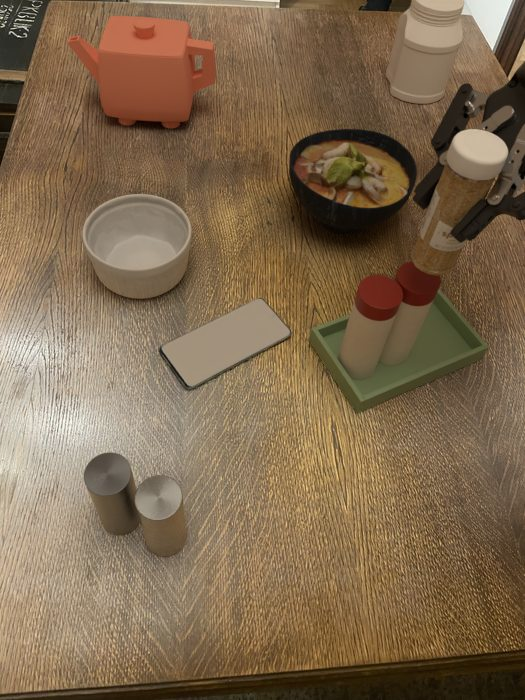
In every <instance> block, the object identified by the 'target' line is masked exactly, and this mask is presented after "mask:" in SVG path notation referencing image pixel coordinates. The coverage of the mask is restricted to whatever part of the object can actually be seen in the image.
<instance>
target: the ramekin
mask: <svg viewBox="0 0 525 700" xmlns="http://www.w3.org/2000/svg"><path fill="white" fill-rule="evenodd" d="M81 240H82V245H83V249H84V251H85V253H86V255H87V257H88V258H89V259H90V261H91V264H92V266H93V269H94V272H95V274H96V276H97V277H98V279H99V281H100V283H102V285H103V286H104V287H105V288H107V289H108V290H110V291H111V292H113V293H115V294H117V295H120V296H122V297H125V298H131V299H137V300H142V299H151V298H155V297H158V296H162V295H163V294H166V293H167V292H169V291H170V290H172V289H174V288H175V287H176V286H177V285H178V284H179V283H180V281H182V279H183V277H184V276H185V273H186V272H187V268H188V264H189V263H188V262H189V256H190V248H191V246H192V243H193V242H192V241H193V231H192V224H191V221H190V219H189V217H188V215H187V213H186V212H185V211H184V210H183V209H182V208H181V207H180V206H179V205H178V204H176V203H175V202H173V201H171V200H169V199H167V198H164V197H161V196H159V195H153V194H147V193H134V194H133V193H132V194H126V195H121V196H117V197H114V198H112V199H109V200H107V201H105V202H103V203H101V204H100V205H98V206H97V207H96V208H95V209H93V211H91V212H90V213H89V215H87V217H86V219H85V221H84V223H83V226H82V230H81Z"/></svg>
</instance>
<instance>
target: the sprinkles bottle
mask: <svg viewBox="0 0 525 700" xmlns="http://www.w3.org/2000/svg"><path fill="white" fill-rule="evenodd" d="M507 156H508V148H507V146H506V144H505V143H504V141H503V140H502V139H500V138H499V137H498V136H496V135H494V134H492V133H490V132H487V131H484V130H478V129H474V128H469V129H464V131H461V132H459V133H458V134H456V135H455V137H454V138H453V140H452V142H451V145H450V147H449V150H448V153H447V156H446V164H445V166H444V170H443V172H442V175H441V177H440V180H439V182H438V184H437V186H436V189H435V191H434V194H433V197H432V199H431V202H430V205H429V206H428V207H427V210H426V213H425V215H424V217H423V220H422V224H421V226H420V230H419V234H418V237H417V240H416V241H415V245H414V246H413V247H412V249H411V253H410V257H411V262H413V263H414V265H415V266H416V268H418V269H419V270H420V271H423V272H425V273H427V274H429V275H434V276H439V275H440V276H447V275H448V274H450V273H452V272H453V271H454V270H455V268H456V266H457V264H458V260H459V257H460V255H461V254H462V251H463V248H464V247H465V245H466V244H467V242H468V240H467V239H466V240H465V241H464V242H462V243H460V242H458V241H457V240H456V239H455V238H454V237H453V236H452V235H451V234H450V232H451V230H452V229H453V228H454V227H455V226H456V225H457V224H458V223H459V221H460V220H461V219H462V218H463V217H464V216H465V215H466V214H467V213H468V212H469V211H470V210H471V209H472V208H473V207H474V206H475V205H476V204H477V203H478V202H479V201H480V200H481V199H482V200H483V201H485V200H486V199H487V196H488V194H489V193H490V191H491V189H492V187H493V185H494V183H495V181H496V178H498V175H499V173H500V172H501V170H502V168H503V166H504V163H505V161H506V159H507Z"/></svg>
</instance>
